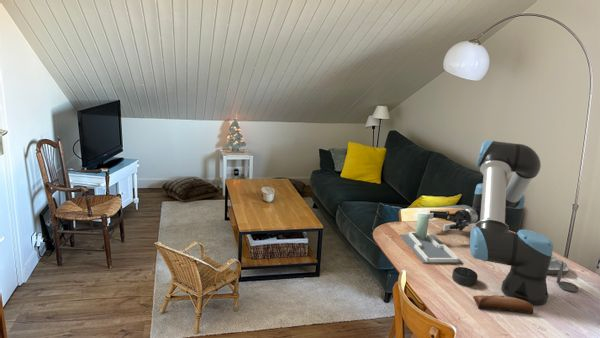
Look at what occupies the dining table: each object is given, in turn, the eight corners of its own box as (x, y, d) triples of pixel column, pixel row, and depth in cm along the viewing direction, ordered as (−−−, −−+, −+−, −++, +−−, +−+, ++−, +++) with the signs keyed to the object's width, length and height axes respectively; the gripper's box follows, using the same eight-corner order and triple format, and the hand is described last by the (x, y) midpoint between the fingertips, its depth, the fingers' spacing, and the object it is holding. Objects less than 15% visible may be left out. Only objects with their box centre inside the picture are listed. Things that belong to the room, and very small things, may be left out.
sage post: (427, 240, 201) (431, 217, 198) (417, 240, 200) (420, 217, 197) (423, 235, 205) (426, 213, 203) (413, 235, 205) (416, 213, 202)
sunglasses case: (522, 301, 155) (530, 291, 150) (528, 319, 150) (535, 310, 145) (471, 296, 156) (476, 286, 151) (474, 314, 151) (480, 305, 146)
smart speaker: (460, 288, 162) (462, 278, 161) (447, 276, 170) (448, 267, 169) (481, 286, 164) (483, 276, 163) (466, 274, 172) (468, 265, 171)
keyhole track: (462, 263, 181) (463, 259, 181) (423, 263, 179) (423, 259, 178) (433, 235, 208) (434, 231, 207) (399, 235, 206) (400, 231, 205)
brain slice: (560, 262, 189) (561, 255, 188) (570, 280, 173) (572, 273, 173) (511, 253, 195) (512, 247, 194) (516, 270, 179) (518, 263, 178)
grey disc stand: (581, 293, 163) (588, 269, 161) (559, 291, 163) (565, 267, 161) (569, 282, 171) (575, 258, 169) (547, 280, 171) (553, 257, 169)
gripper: (484, 233, 204) (452, 240, 195) (445, 215, 226) (413, 220, 216) (487, 218, 203) (454, 224, 193) (447, 201, 224) (415, 206, 214)
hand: (433, 222), depth 204 cm, fingers open, 13 cm apart
